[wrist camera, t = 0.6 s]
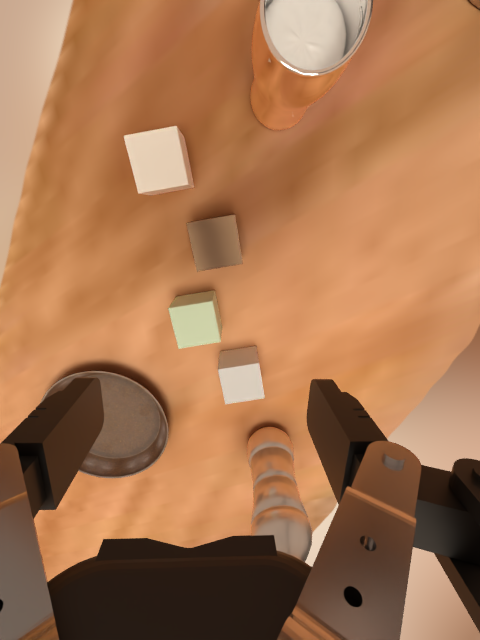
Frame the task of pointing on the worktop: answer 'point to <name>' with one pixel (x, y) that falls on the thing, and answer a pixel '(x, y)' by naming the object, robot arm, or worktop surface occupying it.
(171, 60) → the worktop surface
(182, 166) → the white block
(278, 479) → the plastic bottle
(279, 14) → the beer glass
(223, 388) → the grey block
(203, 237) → the walnut block
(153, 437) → the plant saucer
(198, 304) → the green block
